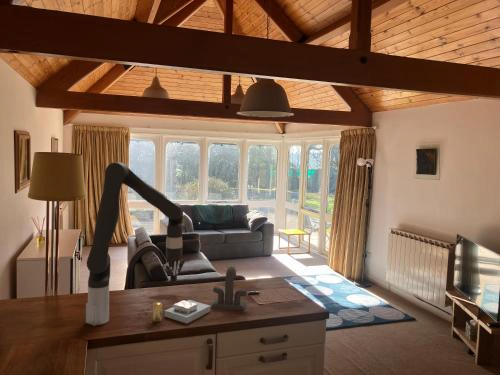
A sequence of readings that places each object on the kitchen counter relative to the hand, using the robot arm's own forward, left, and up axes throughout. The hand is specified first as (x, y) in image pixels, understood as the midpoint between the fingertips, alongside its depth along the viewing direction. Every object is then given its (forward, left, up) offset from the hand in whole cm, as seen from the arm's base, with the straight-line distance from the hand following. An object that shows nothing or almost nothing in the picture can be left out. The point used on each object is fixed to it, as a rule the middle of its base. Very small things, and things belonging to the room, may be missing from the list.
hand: (173, 282), depth 185 cm
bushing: (-3, +7, -19) cm, 20 cm away
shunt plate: (+9, 0, -16) cm, 18 cm away
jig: (+11, 0, -19) cm, 22 cm away
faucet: (+35, -9, -19) cm, 41 cm away
